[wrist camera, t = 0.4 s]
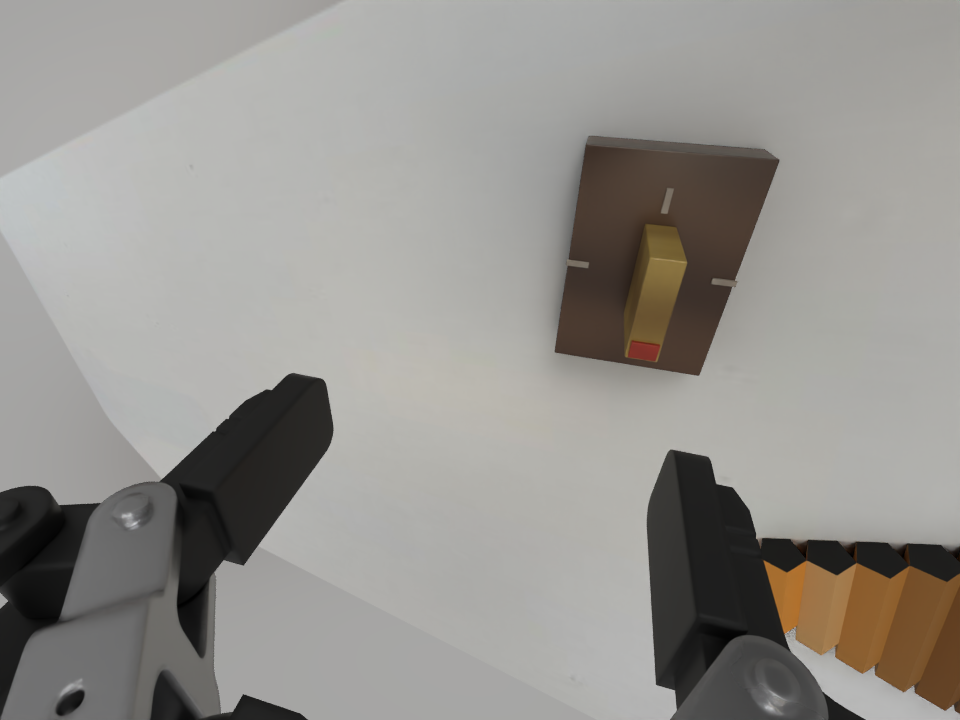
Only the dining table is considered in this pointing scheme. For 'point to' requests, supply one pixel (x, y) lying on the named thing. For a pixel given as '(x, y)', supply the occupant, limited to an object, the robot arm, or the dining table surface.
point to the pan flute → (875, 610)
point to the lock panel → (667, 202)
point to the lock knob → (653, 291)
